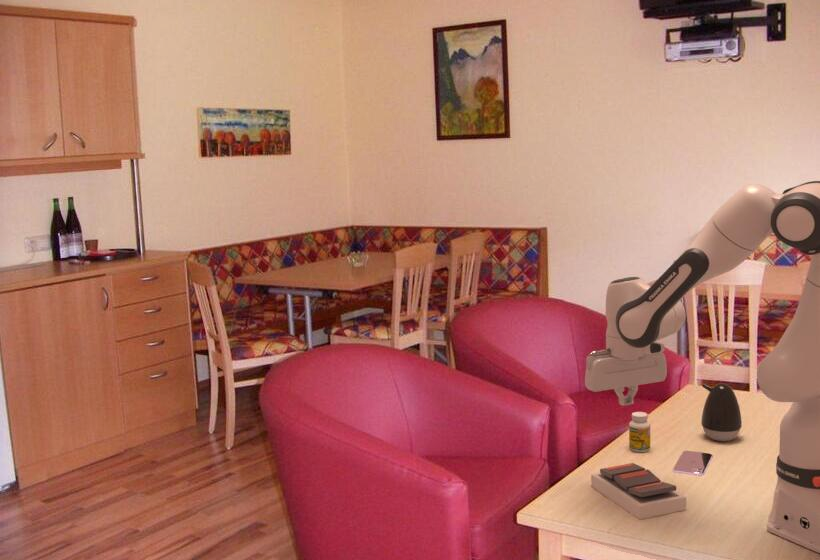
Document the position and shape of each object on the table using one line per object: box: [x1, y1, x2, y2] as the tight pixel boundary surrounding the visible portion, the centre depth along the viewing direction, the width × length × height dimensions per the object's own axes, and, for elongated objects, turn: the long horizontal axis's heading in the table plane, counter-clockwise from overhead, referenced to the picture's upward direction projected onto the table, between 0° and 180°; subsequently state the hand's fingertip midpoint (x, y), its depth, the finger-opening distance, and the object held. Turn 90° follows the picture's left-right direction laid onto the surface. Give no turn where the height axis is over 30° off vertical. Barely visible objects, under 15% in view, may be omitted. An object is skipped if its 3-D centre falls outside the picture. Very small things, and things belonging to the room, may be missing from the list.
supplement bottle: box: [628, 411, 651, 453], centre depth 237 cm, size 5×5×10 cm
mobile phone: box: [671, 450, 714, 477], centre depth 227 cm, size 8×1×15 cm
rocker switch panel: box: [590, 472, 687, 520], centre depth 208 cm, size 20×12×3 cm, turn 20°
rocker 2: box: [614, 468, 662, 491], centre depth 207 cm, size 5×9×1 cm, turn 110°
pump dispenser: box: [700, 382, 743, 442], centre depth 243 cm, size 10×10×15 cm
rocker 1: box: [599, 462, 646, 479], centre depth 213 cm, size 5×9×1 cm, turn 109°
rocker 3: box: [629, 481, 677, 497], centre depth 202 cm, size 5×9×1 cm, turn 109°
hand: (626, 404), depth 212 cm, fingers closed
